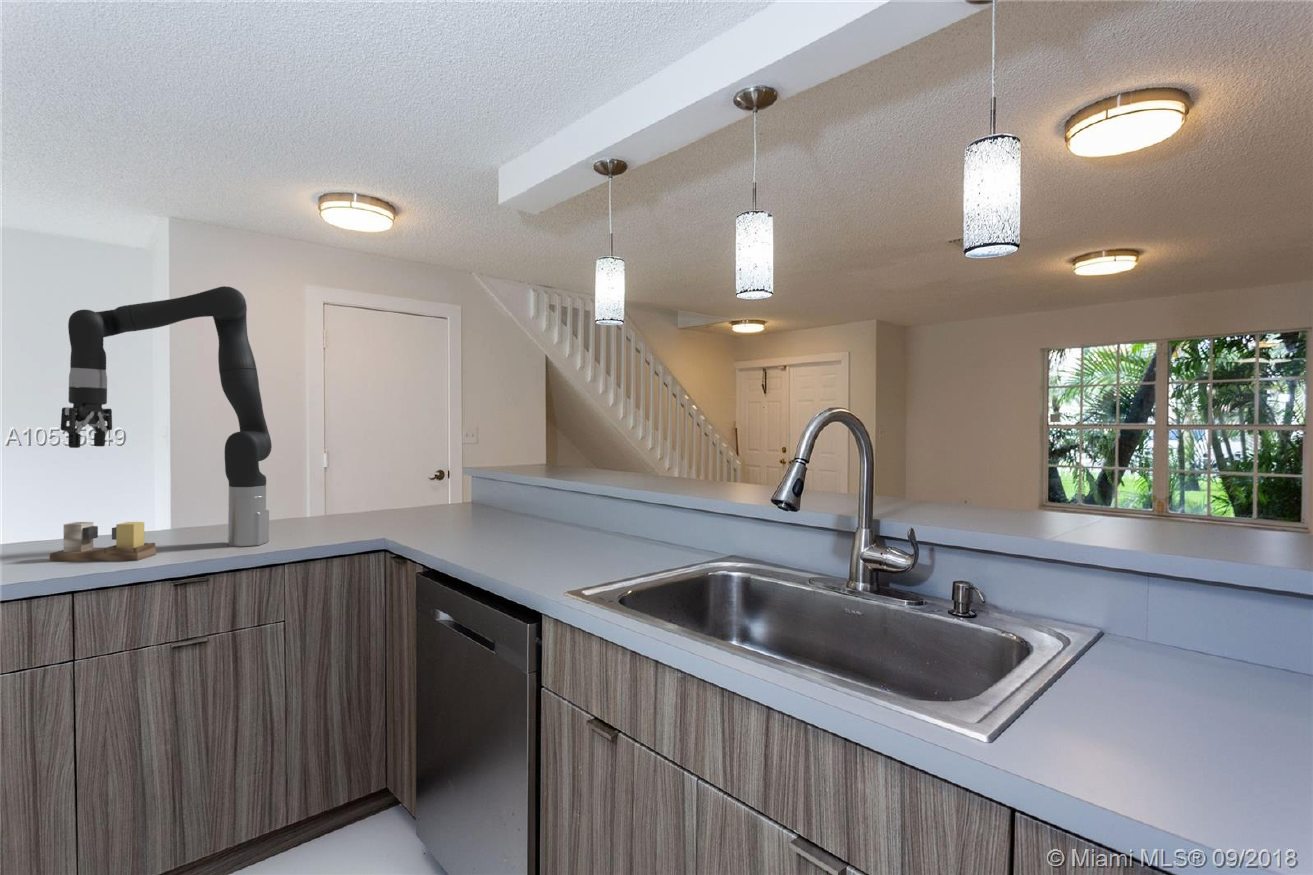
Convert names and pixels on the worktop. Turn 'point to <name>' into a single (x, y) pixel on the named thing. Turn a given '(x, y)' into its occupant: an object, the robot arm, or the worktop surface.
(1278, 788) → the worktop surface
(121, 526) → the yellow and grey box
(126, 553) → the rail
